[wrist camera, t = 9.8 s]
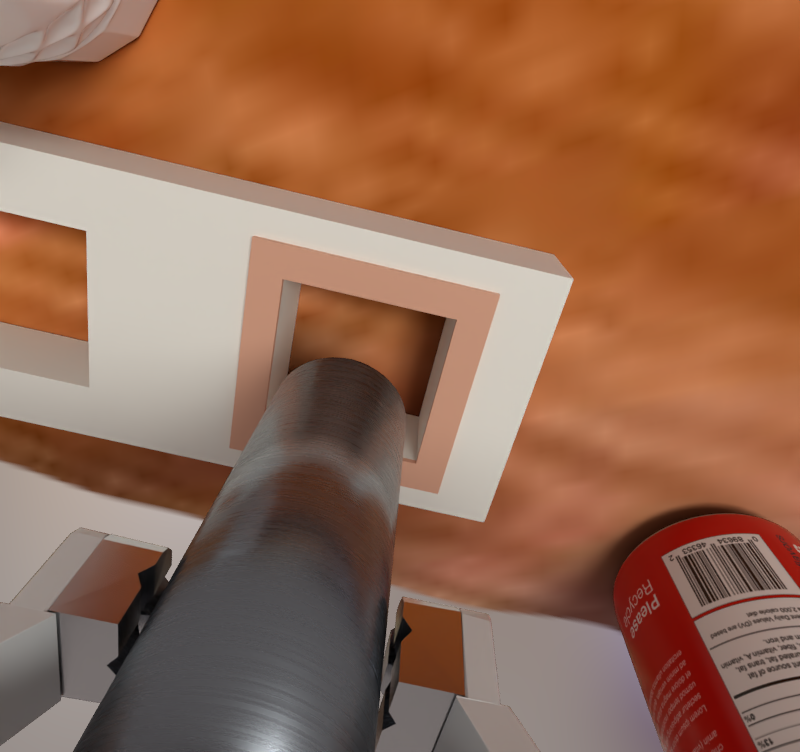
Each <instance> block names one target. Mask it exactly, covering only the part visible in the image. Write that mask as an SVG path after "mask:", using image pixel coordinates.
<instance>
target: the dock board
mask: <svg viewBox="0 0 800 752" xmlns="http://www.w3.org/2000/svg"><path fill="white" fill-rule="evenodd" d="M0 211H4V212H8V213H12V214H16V215H21V216H25V217H29V218H33V219H38V220H42V221H46V222H50V223H55V224H59V225H63V226H68V227H72V228H76V229H80V230H85V231H86V240H87V291H88V342H87V341H82V340H78V339H74V338H69V337H65V336H60V335H56V334H51V333H47V332H43V331H38V330H34V329H29V328H25V327H21V326H16V325H12V324H7V323H3V322H0V416H2V417H6V418H11V419H16V420H20V421H25V422H29V423H34V424H38V425H43V426H47V427H52V428H57V429H61V430H66V431H70V432H75V433H79V434H84V435H88V436H93V437H98V438H102V439H107V440H111V441H116V442H120V443H125V444H129V445H134V446H138V447H143V448H148V449H152V450H157V451H161V452H166V453H170V454H175V455H179V456H184V457H189V458H193V459H198V460H202V461H207V462H211V463H216V464H220V465H225V466H230V467H234V466H235V464H236V462H237V460H238V459H239V457H240V455H241V453H242V452H243V450H244V448H245V446H246V445H247V443H248V441H249V439H250V437H251V436H252V434H253V432H254V430H255V429H256V427H257V425H258V423H259V422H260V420H261V418H262V416H263V414H264V413H265V411H266V409H267V407H268V406H269V404H270V402H271V400H272V399H273V397H274V395H275V393H276V391H277V390H278V388H279V386H280V384H281V383H282V382H283V380H284V379H285V378H286V377H287V374H288V368H289V361H290V355H291V348H292V342H293V335H294V328H295V322H296V315H297V309H298V302H299V295H300V289H301V284H306V285H310V286H314V287H319V288H323V289H327V290H331V291H336V292H340V293H344V294H348V295H353V296H357V297H361V298H366V299H370V300H374V301H378V302H383V303H387V304H391V305H395V306H400V307H404V308H408V309H413V310H417V311H421V312H425V313H430V314H434V315H438V316H442V317H446V320H445V324H444V327H443V331H442V335H441V338H440V342H439V346H438V349H437V353H436V357H435V360H434V364H433V367H432V371H431V375H430V378H429V382H428V386H427V389H426V393H425V397H424V400H423V404H422V407H421V411H420V415H419V417H418V416H414V415H409V414H406V430H405V441H404V451H403V462H402V472H401V482H400V493H399V503H398V504H403V505H407V506H412V507H416V508H421V509H425V510H430V511H435V512H439V513H444V514H448V515H453V516H457V517H462V518H466V519H471V520H476V521H480V522H484V521H485V518H486V516H487V513H488V510H489V508H490V505H491V502H492V499H493V497H494V494H495V491H496V489H497V486H498V483H499V480H500V478H501V475H502V472H503V470H504V467H505V464H506V461H507V459H508V456H509V453H510V451H511V448H512V445H513V442H514V440H515V437H516V434H517V432H518V429H519V426H520V423H521V421H522V418H523V415H524V413H525V410H526V407H527V404H528V402H529V399H530V396H531V394H532V391H533V388H534V385H535V383H536V380H537V377H538V375H539V372H540V369H541V366H542V364H543V361H544V358H545V356H546V353H547V350H548V347H549V345H550V342H551V339H552V337H553V334H554V331H555V328H556V326H557V323H558V320H559V317H560V315H561V312H562V309H563V307H564V304H565V301H566V298H567V296H568V293H569V290H570V288H571V285H572V282H573V278H572V276H571V275H570V274H569V273H568V272H567V270H566V269H565V268H564V267H563V265H562V264H561V263H560V262H559V260H558V259H557V258H556V257H555V255H553V254H549V253H545V252H541V251H537V250H533V249H528V248H524V247H520V246H516V245H512V244H508V243H504V242H499V241H495V240H491V239H487V238H483V237H479V236H474V235H470V234H466V233H462V232H458V231H454V230H449V229H445V228H441V227H437V226H433V225H429V224H424V223H420V222H416V221H412V220H408V219H404V218H400V217H395V216H391V215H387V214H383V213H379V212H375V211H370V210H366V209H362V208H358V207H354V206H350V205H345V204H341V203H337V202H333V201H329V200H325V199H321V198H316V197H312V196H308V195H304V194H300V193H296V192H291V191H287V190H283V189H279V188H275V187H271V186H266V185H262V184H258V183H254V182H250V181H246V180H242V179H237V178H233V177H229V176H225V175H221V174H217V173H212V172H208V171H204V170H200V169H196V168H192V167H187V166H183V165H179V164H175V163H171V162H167V161H163V160H158V159H154V158H150V157H146V156H142V155H138V154H133V153H129V152H125V151H121V150H117V149H113V148H108V147H104V146H100V145H96V144H92V143H88V142H84V141H79V140H75V139H71V138H67V137H63V136H59V135H54V134H50V133H46V132H42V131H38V130H34V129H29V128H25V127H21V126H17V125H13V124H9V123H5V122H0Z"/></svg>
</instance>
